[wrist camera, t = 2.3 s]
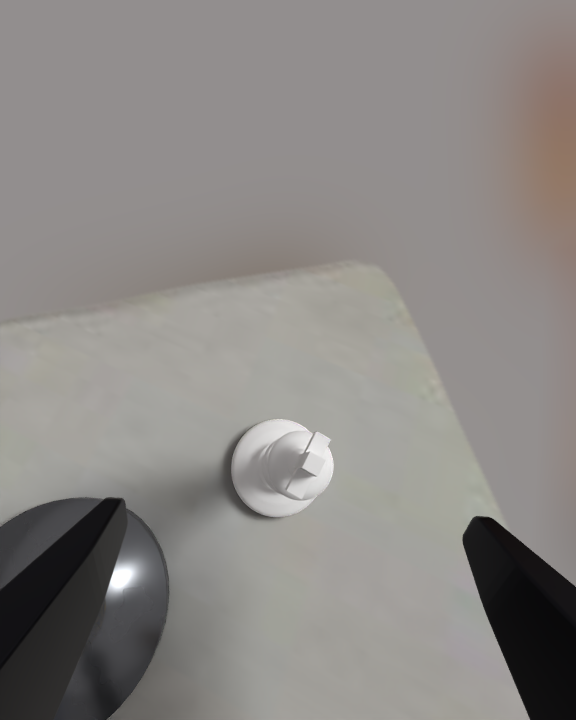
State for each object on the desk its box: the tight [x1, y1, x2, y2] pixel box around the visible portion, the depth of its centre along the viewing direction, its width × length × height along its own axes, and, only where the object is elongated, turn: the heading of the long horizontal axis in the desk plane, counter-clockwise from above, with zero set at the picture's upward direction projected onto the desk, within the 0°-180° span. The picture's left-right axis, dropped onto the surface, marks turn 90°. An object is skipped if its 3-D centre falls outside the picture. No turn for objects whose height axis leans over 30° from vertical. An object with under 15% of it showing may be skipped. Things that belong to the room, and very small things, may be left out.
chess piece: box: [231, 419, 333, 517], centre depth 13 cm, size 5×5×10 cm
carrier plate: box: [0, 497, 169, 720], centre depth 14 cm, size 9×9×1 cm
